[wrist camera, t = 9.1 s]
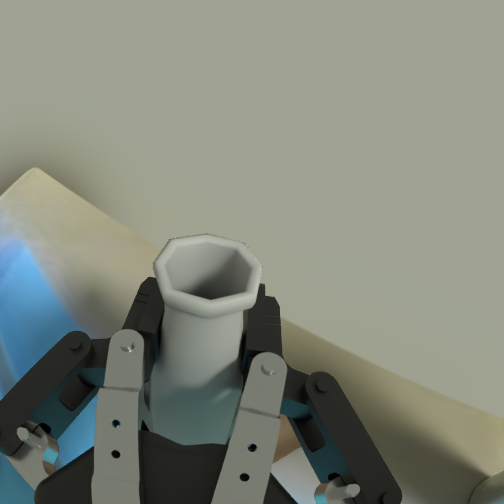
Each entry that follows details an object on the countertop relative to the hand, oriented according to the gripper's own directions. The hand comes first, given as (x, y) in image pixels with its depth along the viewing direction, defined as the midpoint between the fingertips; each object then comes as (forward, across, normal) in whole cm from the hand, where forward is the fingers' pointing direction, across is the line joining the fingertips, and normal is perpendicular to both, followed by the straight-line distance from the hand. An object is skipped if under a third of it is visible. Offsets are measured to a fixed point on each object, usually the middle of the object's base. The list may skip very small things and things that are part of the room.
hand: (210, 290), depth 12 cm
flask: (-3, 0, +6) cm, 7 cm away
